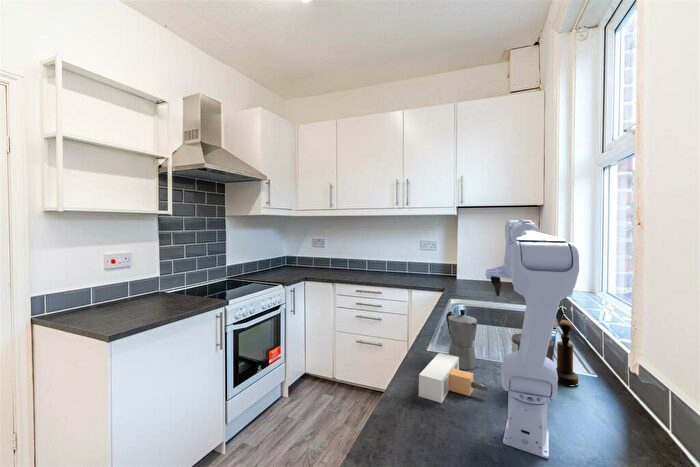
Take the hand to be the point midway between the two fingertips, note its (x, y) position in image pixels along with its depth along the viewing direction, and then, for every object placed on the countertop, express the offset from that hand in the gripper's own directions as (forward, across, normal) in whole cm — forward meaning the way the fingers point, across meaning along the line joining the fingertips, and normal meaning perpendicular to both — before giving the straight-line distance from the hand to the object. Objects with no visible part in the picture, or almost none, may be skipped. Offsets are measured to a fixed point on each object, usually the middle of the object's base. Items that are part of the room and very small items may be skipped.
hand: (511, 292), depth 92 cm
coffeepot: (+25, +16, +8) cm, 30 cm away
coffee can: (+18, -2, +20) cm, 27 cm away
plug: (+13, +17, +23) cm, 31 cm away
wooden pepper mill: (+24, -13, +14) cm, 31 cm away
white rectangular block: (+14, +23, +21) cm, 34 cm away
